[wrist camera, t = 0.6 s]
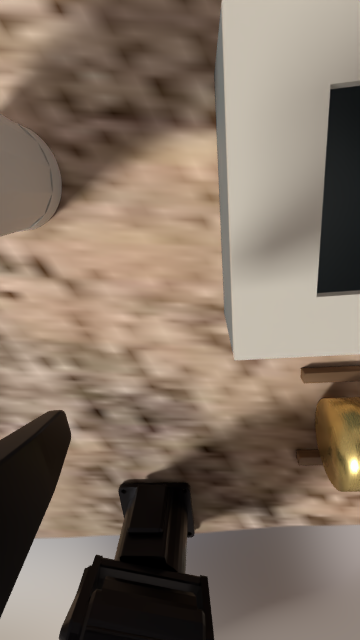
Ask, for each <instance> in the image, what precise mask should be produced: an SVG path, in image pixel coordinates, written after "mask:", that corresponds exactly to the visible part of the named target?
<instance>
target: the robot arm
mask: <svg viewBox="0 0 360 640" xmlns="http://www.w3.org/2000/svg"><path fill="white" fill-rule="evenodd" d="M70 441H71V431H70V428H69V424H68V421H67V417H66V414H65V412H64V411H62V410H54V411H48V412H47V413H45V414H43V415H41V416H40V417H38V418H36V419H35V420H33V421H31V422H30V423H28V424H26V425H25V426H23V427H21V428H20V429H18V430H16V431H15V432H13V433H11V434H10V435H8V436H6V437H5V438H3V439H1V440H0V617H1V615H2V613H3V610H4V608H5V605H6V603H7V601H8V599H9V596H10V594H11V592H12V589H13V587H14V585H15V582H16V580H17V578H18V575H19V573H20V571H21V568H22V566H23V564H24V561H25V559H26V557H27V554H28V552H29V550H30V547H31V545H32V543H33V540H34V538H35V536H36V533H37V531H38V529H39V526H40V524H41V522H42V519H43V517H44V515H45V512H46V510H47V508H48V505H49V503H50V501H51V498H52V496H53V493H54V491H55V488H56V485H57V482H58V479H59V476H60V473H61V470H62V466H63V463H64V460H65V457H66V454H67V450H68V447H69V444H70ZM118 492H119V496H120V501H121V506H122V510H123V515H124V522H123V526H122V530H121V534H120V539H119V543H118V547H117V551H116V555H115V559H114V560H113V559H108V558H103V557H102V556H100V555H96V556H95V558H94V561H93V564H92V566H89V567H88V568H85V570H84V573H83V576H82V579H81V582H80V585H79V588H78V591H77V594H76V596H75V599H74V601H73V603H72V605H71V608H70V610H69V612H68V614H67V616H66V619H65V621H64V623H63V625H62V628H61V631H60V635H59V640H214V634H213V625H212V615H211V605H210V596H209V587H208V578H207V576H202V575H200V576H194V575H189V574H185V570H186V547H187V546H186V545H187V537H193V536H194V520H193V511H192V501H191V492H190V486H189V485H188V484H187V483H140V484H121V485H120V487H119V491H118Z"/></svg>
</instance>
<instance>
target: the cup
mask: <svg viewBox="0 0 360 640" xmlns="http://www.w3.org/2000/svg"><path fill="white" fill-rule="evenodd" d="M61 193H62V180H61V174H60V170H59V166H58V164H57V161H56V159H55V157H54V155H53V153H52V151H51V150H50V148H49V147H48V146H47V144H46V143H45V142H44V141H43V140H42V139H41V138H40V137H39V136H38V135H37V134H36V133H34V132H33V131H31V130H30V129H28V128H26V127H24V126H22V125H20V124H18V123H15V122H14V121H12V120H10V119H9V118H7V117H5V116H4V115H2V114H0V236H4V235H7V234H11V233H14V232H19V231H26V230H32V229H35V228H38V227H40V226H42V225H43V224H45V223H46V222H47V221H48V220H49V219H50V218H51V217H52V216H53V215H54V213H55V212H56V210H57V208H58V205H59V202H60V199H61Z"/></svg>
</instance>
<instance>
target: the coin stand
mask: <svg viewBox="0 0 360 640" xmlns="http://www.w3.org/2000/svg"><path fill="white" fill-rule="evenodd" d="M301 379H302V381H303V382H304V383H322V382H347V381H360V366H338V367H316V368H301ZM296 458H297V461H298V463H299V465H323V463H322V460H321V457H320V453H319V450H297V456H296Z"/></svg>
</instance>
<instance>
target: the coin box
mask: <svg viewBox="0 0 360 640" xmlns="http://www.w3.org/2000/svg"><path fill="white" fill-rule="evenodd" d="M214 81H215V104H216V127H217V151H218V174H219V197H220V221H221V244H222V267H223V291H224V314H225V318H226V323H227V328H228V332H229V337H230V342H231V346H232V351H233V356H234V360H251V359H272V358H292V357H312V356H333V355H353V354H360V0H222V2H221V12H220V23H219V33H218V43H217V53H216V63H215V73H214Z"/></svg>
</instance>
